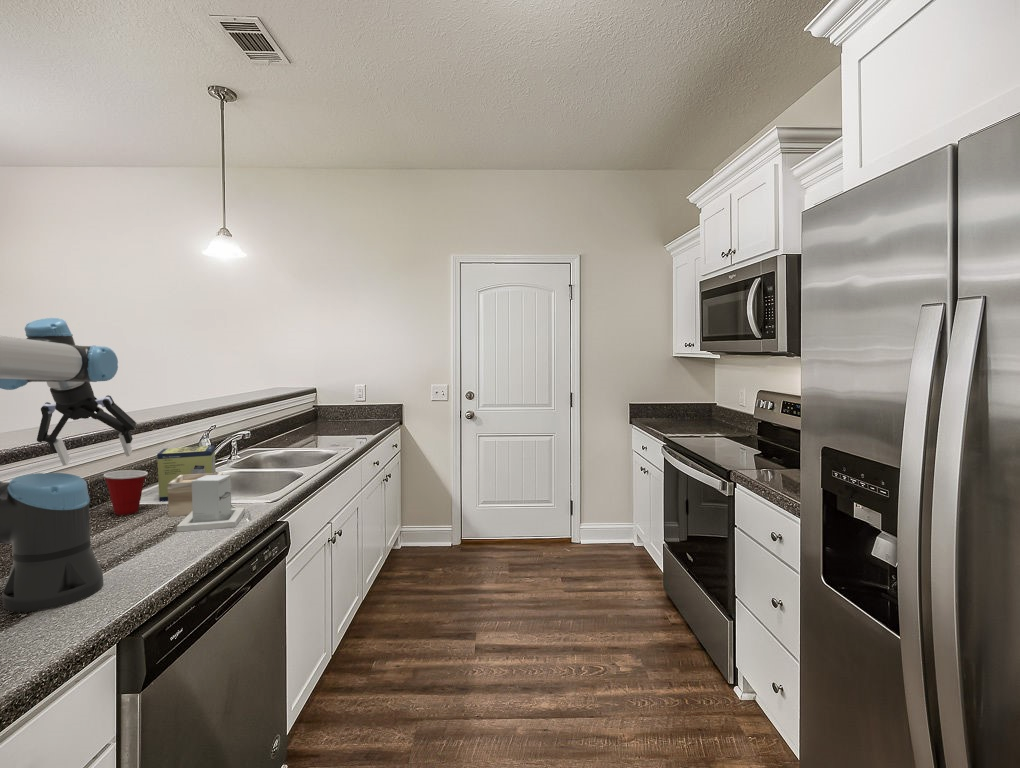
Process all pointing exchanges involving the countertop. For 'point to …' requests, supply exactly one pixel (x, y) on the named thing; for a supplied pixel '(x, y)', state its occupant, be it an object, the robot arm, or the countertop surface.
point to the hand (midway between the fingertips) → (98, 457)
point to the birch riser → (182, 493)
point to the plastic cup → (125, 490)
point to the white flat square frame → (232, 522)
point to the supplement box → (211, 498)
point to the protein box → (183, 464)
